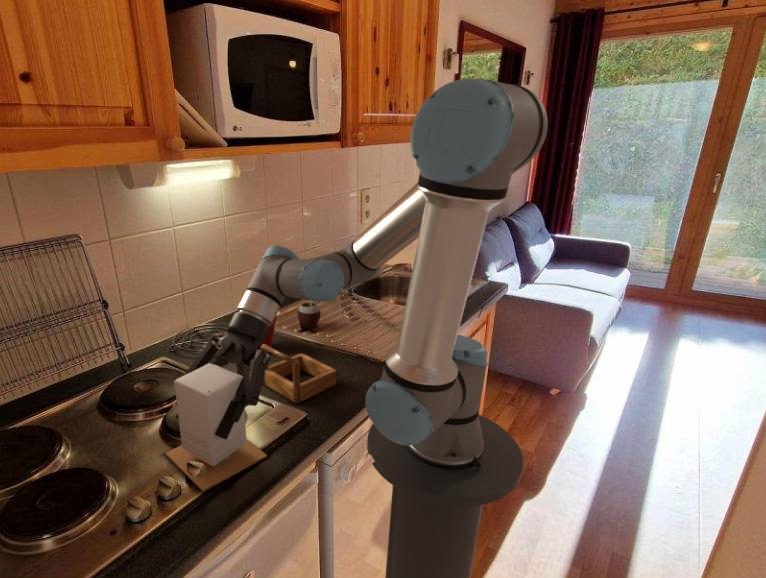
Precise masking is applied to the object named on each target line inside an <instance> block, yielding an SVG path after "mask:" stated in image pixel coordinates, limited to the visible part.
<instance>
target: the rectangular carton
mask: <svg viewBox="0 0 766 578" xmlns="http://www.w3.org/2000/svg"><path fill="white" fill-rule="evenodd" d="M242 378H243V376H241V375H238V374H237V372H233V371H231V370H228V369H226V368H224V367H219V366H217V365H215V364H214V365H213V364H210V363H209V364H207V365H204V366H203V367H201V368H199V369H197V370H195V371H193V372H191V373H189V374H186V375H185V374H184V375H182V376H180V377H178V378H176V379H174V381H173V383H174V391H175V399H176V408H177V413H178V417H179V418H178V425H179V432H180V433H179V434H180V441H181V445H182V449H184V450H186V451H187V452H189V453H191V454H192V455H194V456H196V457H198V458H199V459H201V460H203V461H204V462H206V463H208V464H210V465H211V466H215V465H216V464H218V463H219V462H221V461H222V460H223V459H225V458H226V457H228V456H229V455H230V454H232V453H233V452H235V451H236V450H237V449H239V448H240V447H242V446H243V445H244V444H246V439H247V427H246V426H247V425H246V423H247V422H246V408H245V409H244V411H243V413H242V415H241V417H240V419H239V421H238V422H237V423H236V422H234V425H233V427H232V429H231V431H230V433H229V435H228V437H227V440H226V439H223V438H221V437H219V436H216V435H215V434H216V432H217V429H218V427H219V425H220V423H221V421H222V419H223V417H224V415H225V413H226V410H227V408H228V406H229V404H230V402H231V400H232V401H234V399H235V398H236V391H237V389H238V387H239V384H240V382H241V380H242ZM234 402H236V401H234Z"/></svg>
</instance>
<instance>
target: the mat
mask: <svg viewBox="0 0 766 578" xmlns="http://www.w3.org/2000/svg"><path fill="white" fill-rule="evenodd" d="M164 454H165V456H166V457H167V458H168V459H169V460H170V461H171V462H172V464H174V465H175V466H176V467H177V468H178V469H180V471H181V472H183V474H184V475H186V477H187V478H188V479H190V480H191V482H192V483H193V484H194V485H195V486H196V487H197V488H199V490H200V491H202V493H204V492H206V491H208V490H210V489H211V488H213V487H215V486H217V485H219V484H220V483H222V482H224V481H226V480H227V479H229V478H231V477H233V476H235V475H237V474H238V473H241V472H243V471H244V470H246V469H248V468H250V467H252V466H254V465H255V464H257V463H259V462H260V461H262V460H264V459H266V458H268V454H267V453H265V452H264V451H262V450H261V449H260V448H258V447H257V446H256V445H255V444H253V443H252V442H250V441H249V440H248V439H247V438H246V444H244V445H243V446H242V447H240V448H239V449H237V450H236V451H235V452H233V453H232V454H231V457H230V458H228V459H225V460H222V461H221V462H219V463H218V464H216V465H215V466H211V465H210V464H208V463H206V462H204V461H203V460H201V459H199V458H198V457H196V456H194V455H192V454H191V453H189V452H187V451H186V450H184V449H182V444H181V445H179V446H177V447H175V448H172V449H170V450H167V451H166V452H165V453H164ZM188 461H195V462H199V463H203V464H204V465H205V466H206V468H207V472H206V473H205V474H204V475H203V476H201V477H200V476H199V477H193V476H192V475H190V474H189V473H188V472H187V463H188Z"/></svg>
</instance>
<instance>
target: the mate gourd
mask: <svg viewBox="0 0 766 578" xmlns="http://www.w3.org/2000/svg"><path fill="white" fill-rule="evenodd" d="M321 315H322V313H321V308H320V306H319V305H318V304H317V303H315V302H313V301H311V300H309V302H302V303H301V304H300V305H299V307H298V309H297V319H298V322H299V326H300V329H299V331H300V332H301V333H303V332H306V331H309V332H312V333H316V330H315V329H317V328H318V327H319V326H318V324H319V321H320V319H321Z"/></svg>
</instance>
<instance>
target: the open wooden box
mask: <svg viewBox="0 0 766 578" xmlns="http://www.w3.org/2000/svg"><path fill="white" fill-rule="evenodd" d="M262 350H263V351H265V352H266V353H268V354H269V353H270V354H272V355H273V356H275V357H278V358H279V359H281V360H280V361H277V362H275V363H273V364H270V365H269V364H268V365H267V367H266V370H265V374H264V379H263V383H262V385H265V386H267V387H269V388H270V389H271V390H273V391H275V392H277V393H278V394H279V395H282V396H283V397H285V398H286V399H288V400H290V401H291V402H293V403H294V404H297V405H298V404H300V403H301V402H304V401H305V400H307V399H310V398H311V397H313V396H315V395H317V394H320V393H322V392H324V391H326V390H329V389H330V388H332V387H335V386H337V376H338V375H337V374H338V373H337V372H338V371H337V369H335V368H333V367H331V366H329V365H327V364H325V363H323V362H322V361H319V360H317V359H315V358H313V357H311V356H309V355H307V354H305V353H303V352H300V353H297V354H295V355H292V356H289V355H288V354H285V353H283V352H281V351H280V350H277V349H275V348H273V347H272V346H271V347H270V346H268V345H266V344H263V345H262V346H261V351H262ZM301 370H302V371H303V372H306V373H307V374H310V375H311V376H313V377H311V378H308V379H307V380H304V381H303V382H301ZM291 374H292V381H291V380H289V379H287V378H286V376H287V377H288V376H289V375H291Z"/></svg>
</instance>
